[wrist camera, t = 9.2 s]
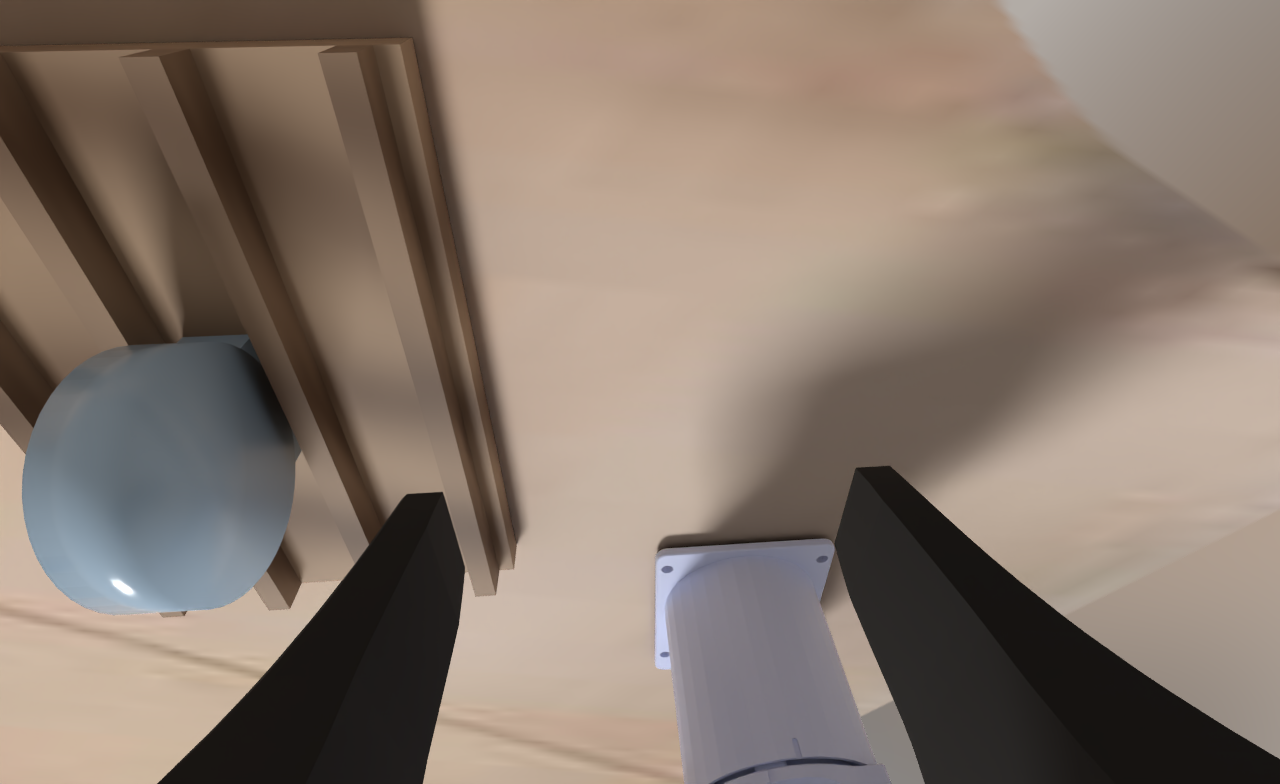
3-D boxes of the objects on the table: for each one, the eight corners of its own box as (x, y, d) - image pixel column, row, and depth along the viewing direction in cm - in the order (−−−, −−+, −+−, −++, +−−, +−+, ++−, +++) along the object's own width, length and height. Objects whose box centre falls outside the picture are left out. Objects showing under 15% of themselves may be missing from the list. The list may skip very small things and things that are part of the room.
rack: (516, 546, 26) (510, 594, 24) (180, 567, 25) (146, 618, 23) (412, 37, 15) (385, 51, 13) (-206, 50, 14) (-333, 67, 12)
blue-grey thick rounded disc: (317, 473, 21) (218, 665, 15) (258, 477, 21) (138, 671, 15) (234, 294, 17) (59, 468, 11) (161, 297, 17) (-54, 473, 11)
